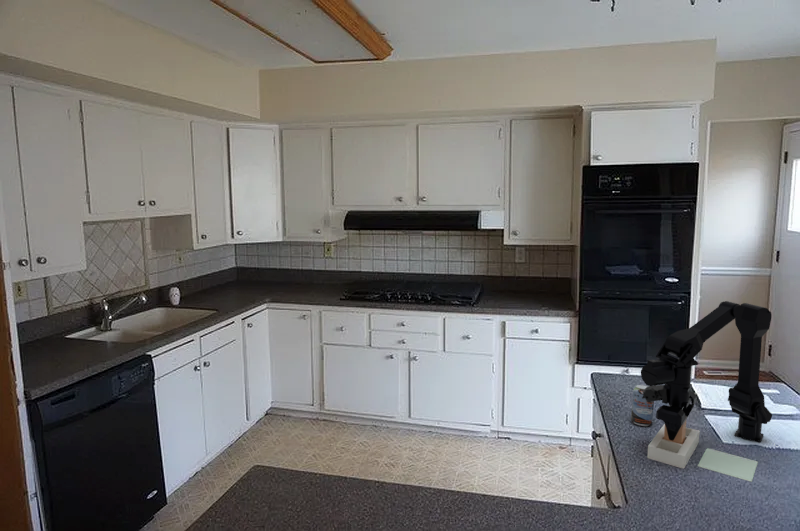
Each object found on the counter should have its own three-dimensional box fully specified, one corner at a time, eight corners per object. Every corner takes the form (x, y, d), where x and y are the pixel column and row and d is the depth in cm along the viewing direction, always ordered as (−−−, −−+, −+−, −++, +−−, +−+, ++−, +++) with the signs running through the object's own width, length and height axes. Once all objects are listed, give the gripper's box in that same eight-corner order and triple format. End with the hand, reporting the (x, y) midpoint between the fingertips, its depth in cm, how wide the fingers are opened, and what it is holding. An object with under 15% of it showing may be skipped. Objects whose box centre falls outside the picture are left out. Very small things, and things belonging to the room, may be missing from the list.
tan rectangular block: (667, 444, 153) (669, 411, 151) (684, 449, 150) (687, 416, 149) (662, 450, 150) (664, 417, 148) (680, 455, 147) (683, 422, 145)
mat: (706, 449, 150) (707, 447, 150) (757, 463, 143) (758, 461, 143) (697, 468, 141) (697, 465, 141) (751, 483, 134) (751, 481, 134)
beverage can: (630, 427, 165) (632, 390, 163) (630, 417, 172) (632, 381, 170) (653, 430, 162) (655, 392, 161) (652, 420, 169) (654, 384, 167)
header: (664, 434, 160) (665, 422, 159) (698, 443, 154) (699, 430, 153) (647, 459, 146) (648, 445, 145) (683, 470, 140) (684, 456, 140)
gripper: (656, 365, 159) (653, 415, 161) (637, 384, 145) (634, 438, 147) (698, 373, 152) (694, 425, 154) (682, 394, 138) (678, 451, 140)
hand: (674, 434), depth 149 cm, fingers open, 8 cm apart
